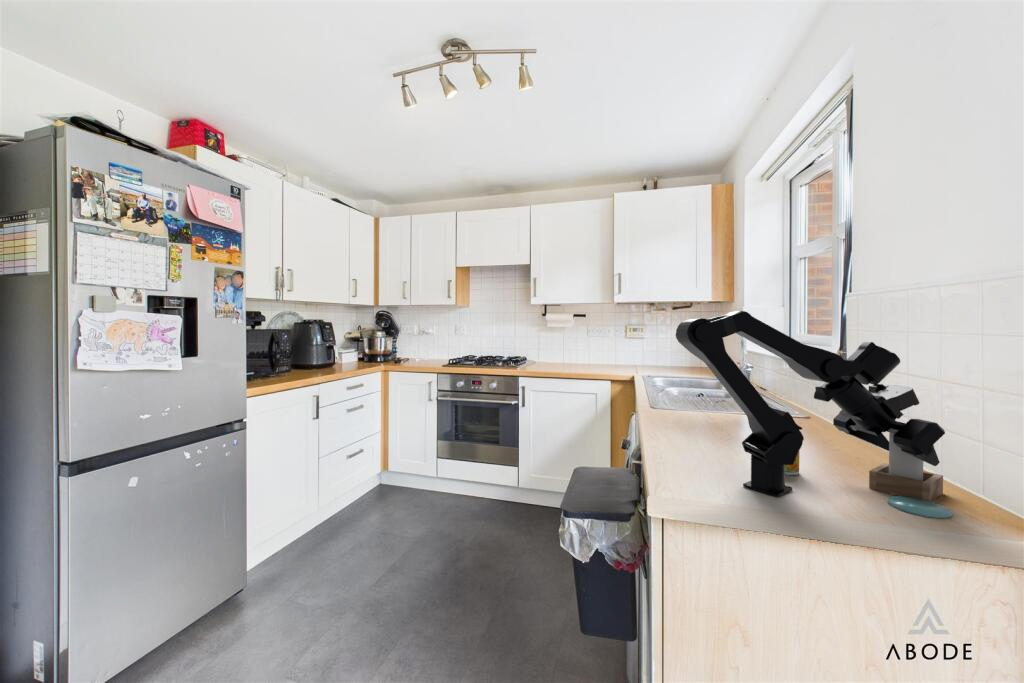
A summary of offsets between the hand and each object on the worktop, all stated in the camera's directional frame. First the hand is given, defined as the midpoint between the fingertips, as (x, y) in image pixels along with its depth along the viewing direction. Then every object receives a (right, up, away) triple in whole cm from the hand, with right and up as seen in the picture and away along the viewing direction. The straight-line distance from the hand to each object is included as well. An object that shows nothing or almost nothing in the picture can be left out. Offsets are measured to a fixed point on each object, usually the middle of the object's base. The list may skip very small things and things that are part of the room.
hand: (912, 456), depth 78 cm
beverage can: (-1, -7, 0) cm, 7 cm away
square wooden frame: (-1, -7, 0) cm, 7 cm away
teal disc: (-7, -7, -8) cm, 12 cm away
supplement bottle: (-18, -7, +11) cm, 22 cm away
